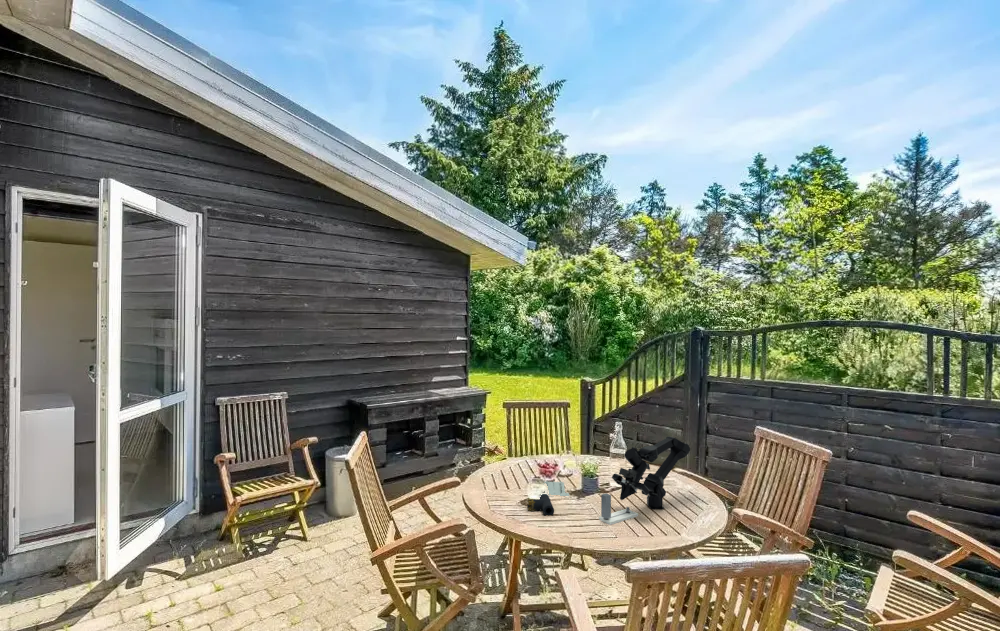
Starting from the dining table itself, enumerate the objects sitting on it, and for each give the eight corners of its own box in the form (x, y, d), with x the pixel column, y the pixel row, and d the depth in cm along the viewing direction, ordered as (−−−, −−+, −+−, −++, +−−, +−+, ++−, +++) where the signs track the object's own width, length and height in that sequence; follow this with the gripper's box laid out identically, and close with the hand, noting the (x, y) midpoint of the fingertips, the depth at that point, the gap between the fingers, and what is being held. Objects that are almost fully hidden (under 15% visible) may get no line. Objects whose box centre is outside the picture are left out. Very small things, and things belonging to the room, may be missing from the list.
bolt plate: (626, 511, 231) (626, 503, 231) (638, 516, 225) (638, 508, 226) (598, 519, 222) (598, 511, 222) (609, 524, 216) (609, 517, 216)
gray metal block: (606, 516, 221) (606, 493, 222) (610, 518, 219) (611, 495, 219) (601, 517, 220) (601, 494, 220) (606, 520, 217) (606, 496, 217)
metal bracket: (539, 477, 263) (567, 478, 262) (539, 487, 264) (567, 487, 263) (540, 494, 249) (569, 495, 248) (540, 504, 251) (569, 504, 250)
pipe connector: (529, 505, 225) (526, 493, 240) (529, 516, 225) (526, 504, 240) (554, 505, 226) (549, 493, 241) (554, 516, 226) (549, 504, 241)
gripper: (614, 456, 235) (597, 483, 229) (644, 466, 219) (627, 495, 214) (625, 470, 239) (609, 496, 233) (656, 480, 224) (639, 510, 218)
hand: (620, 499), depth 224 cm, fingers closed
